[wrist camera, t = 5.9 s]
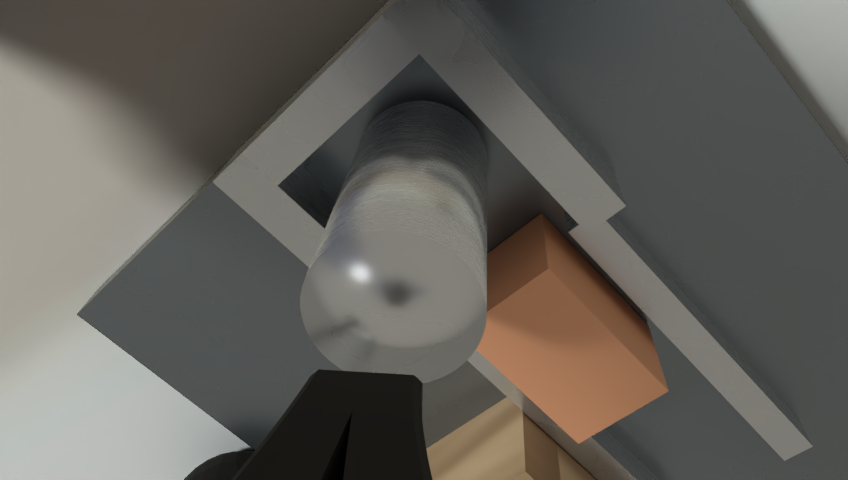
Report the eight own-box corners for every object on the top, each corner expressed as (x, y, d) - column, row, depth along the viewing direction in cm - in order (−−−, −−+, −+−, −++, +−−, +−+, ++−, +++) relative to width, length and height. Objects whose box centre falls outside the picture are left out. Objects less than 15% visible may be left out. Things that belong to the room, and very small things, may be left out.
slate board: (94, 287, 21) (42, 348, 19) (577, -192, 15) (594, -193, 12) (581, 668, 28) (590, 749, 26) (1061, 457, 21) (1135, 539, 19)
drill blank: (330, 159, 17) (261, 304, 12) (424, 73, 16) (392, 193, 11) (420, 244, 18) (392, 413, 13) (514, 168, 17) (526, 320, 12)
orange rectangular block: (462, 272, 19) (457, 332, 16) (541, 213, 18) (548, 268, 15) (568, 375, 20) (578, 444, 18) (648, 325, 19) (668, 391, 17)
